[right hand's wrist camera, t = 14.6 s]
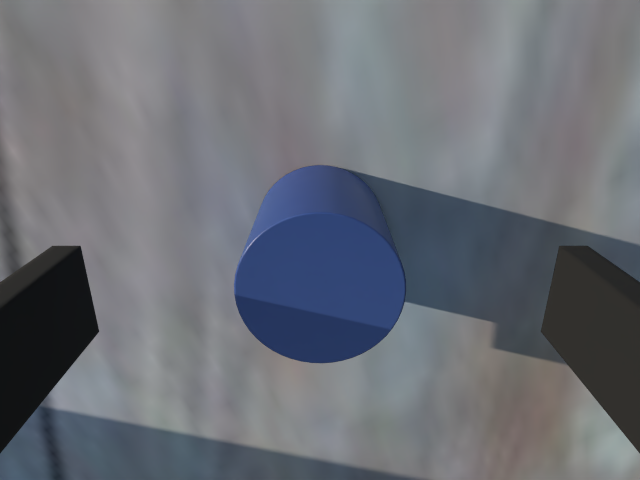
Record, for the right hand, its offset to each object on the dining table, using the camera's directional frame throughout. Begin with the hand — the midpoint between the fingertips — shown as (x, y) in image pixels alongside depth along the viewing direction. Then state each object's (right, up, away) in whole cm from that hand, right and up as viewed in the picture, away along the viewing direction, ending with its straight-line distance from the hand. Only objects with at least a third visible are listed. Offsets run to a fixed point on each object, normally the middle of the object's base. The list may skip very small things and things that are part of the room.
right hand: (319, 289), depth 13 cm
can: (0, +2, +4) cm, 4 cm away
